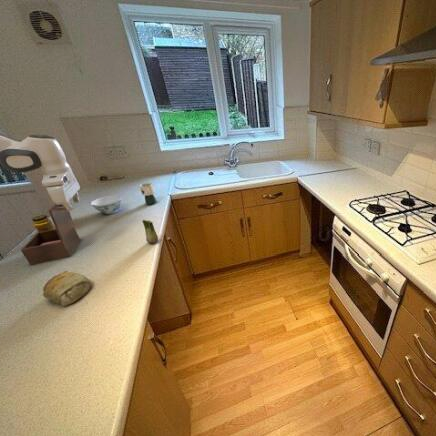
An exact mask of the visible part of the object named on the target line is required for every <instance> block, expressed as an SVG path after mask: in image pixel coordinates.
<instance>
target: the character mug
mask: <svg viewBox="0 0 436 436" xmlns="http://www.w3.org/2000/svg"><path fill="white" fill-rule="evenodd" d="M139 189H140V193H141V195H142V196H144V200H145V204H146V205H153V204H155V203H157V199H156V197H155V195H154V194H155V189H154V186H153V183H152V182H145V183H141V184H139Z"/></svg>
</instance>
